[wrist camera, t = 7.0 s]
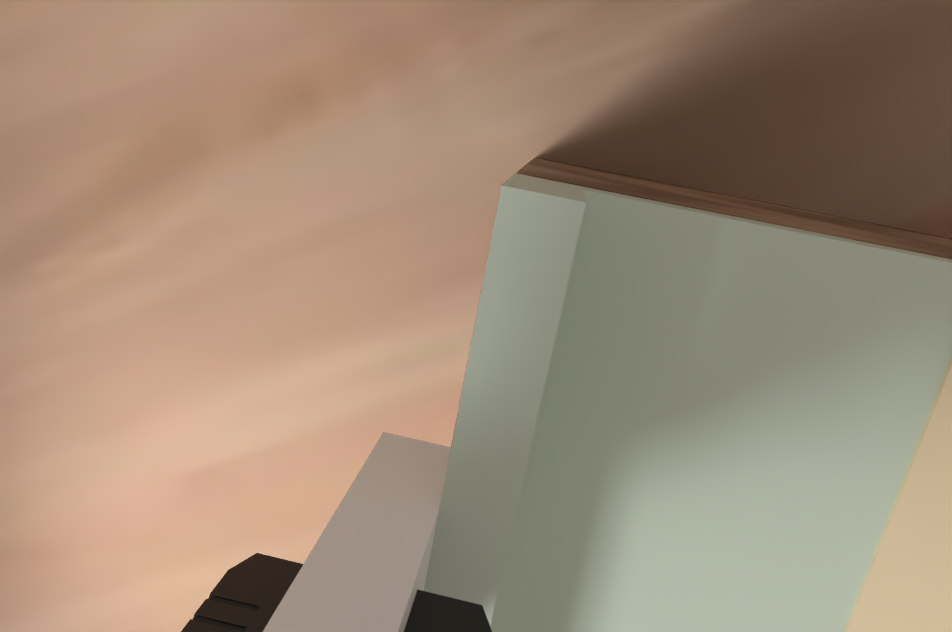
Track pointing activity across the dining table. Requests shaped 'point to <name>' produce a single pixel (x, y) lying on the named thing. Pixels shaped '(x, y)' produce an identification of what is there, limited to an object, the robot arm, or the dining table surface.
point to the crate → (740, 207)
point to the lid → (698, 426)
